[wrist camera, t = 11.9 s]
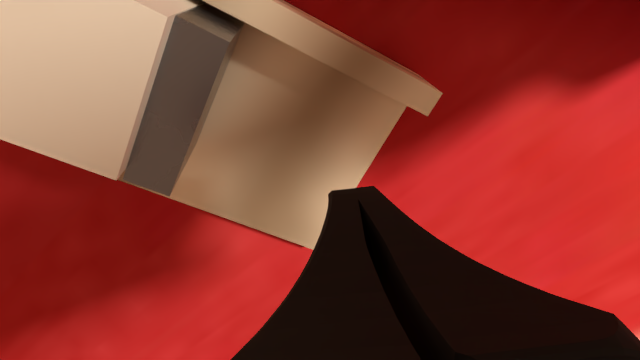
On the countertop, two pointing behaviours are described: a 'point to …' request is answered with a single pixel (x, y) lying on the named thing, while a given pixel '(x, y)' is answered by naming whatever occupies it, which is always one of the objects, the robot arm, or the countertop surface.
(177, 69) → the bookend
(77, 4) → the beige wooden cube
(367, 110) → the shelf
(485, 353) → the robot arm
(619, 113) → the countertop surface
